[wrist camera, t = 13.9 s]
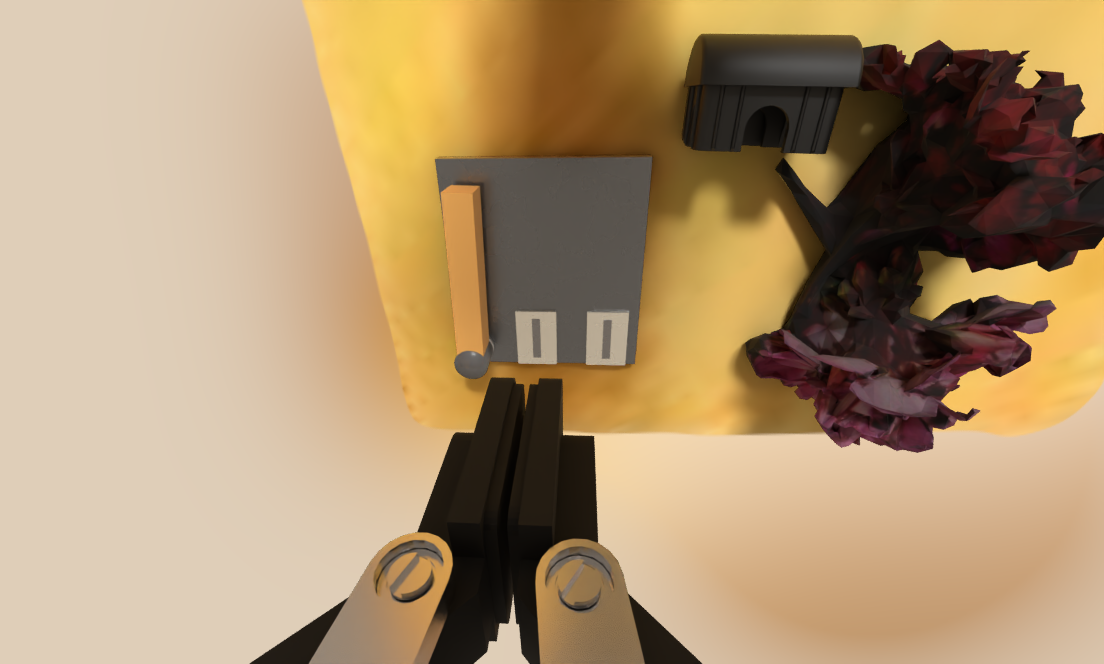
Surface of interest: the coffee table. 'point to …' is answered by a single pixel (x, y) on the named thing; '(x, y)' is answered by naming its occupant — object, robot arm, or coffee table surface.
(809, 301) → the flower arrangement
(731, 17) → the coffee table surface
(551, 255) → the tray
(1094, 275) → the coffee table surface
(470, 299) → the bar
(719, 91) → the dark grey toy house
